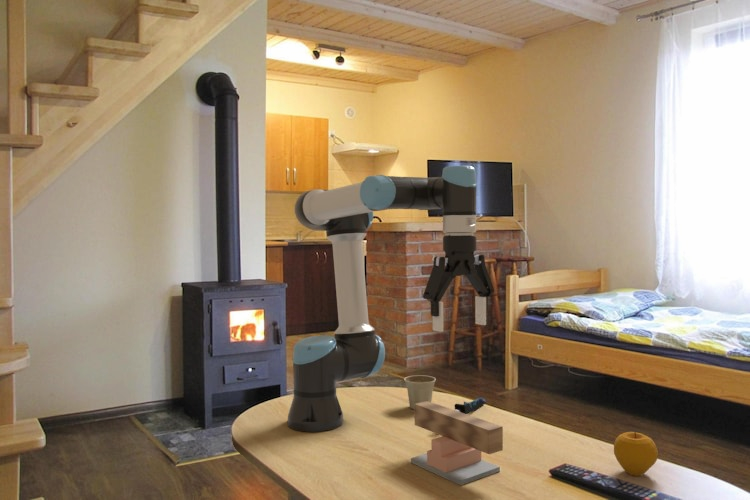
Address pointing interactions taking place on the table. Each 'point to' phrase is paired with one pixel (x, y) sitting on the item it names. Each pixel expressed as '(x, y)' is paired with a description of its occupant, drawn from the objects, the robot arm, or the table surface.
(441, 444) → the pink stepped block
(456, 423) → the batten
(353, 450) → the table surface
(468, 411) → the knife
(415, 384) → the flower pot
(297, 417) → the robot arm
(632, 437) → the apple
